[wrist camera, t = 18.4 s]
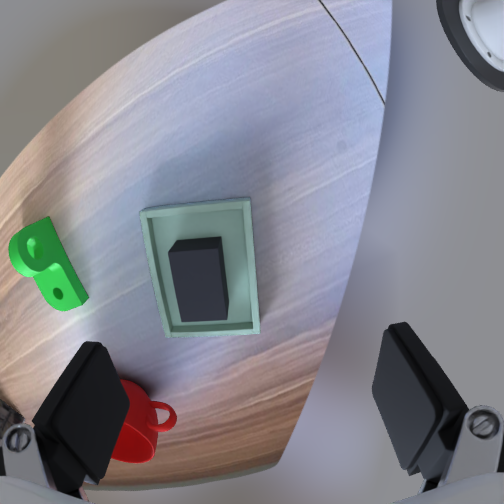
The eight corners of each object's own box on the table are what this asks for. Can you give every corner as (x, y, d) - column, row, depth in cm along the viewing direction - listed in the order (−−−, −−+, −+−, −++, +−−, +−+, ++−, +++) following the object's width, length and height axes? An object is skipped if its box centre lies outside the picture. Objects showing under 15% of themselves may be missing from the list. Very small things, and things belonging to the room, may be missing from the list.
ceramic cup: (203, 409, 42) (196, 459, 32) (122, 421, 44) (107, 463, 34) (160, 349, 38) (141, 402, 28) (78, 370, 40) (53, 412, 30)
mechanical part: (23, 233, 32) (-14, 253, 24) (49, 216, 31) (10, 234, 24) (61, 308, 36) (32, 338, 28) (88, 297, 35) (60, 329, 28)
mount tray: (249, 197, 31) (250, 200, 29) (259, 324, 36) (260, 333, 34) (145, 207, 31) (138, 211, 29) (169, 328, 37) (165, 337, 35)
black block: (221, 236, 32) (218, 248, 28) (229, 302, 35) (227, 320, 31) (176, 239, 32) (167, 252, 28) (187, 304, 35) (181, 322, 31)
